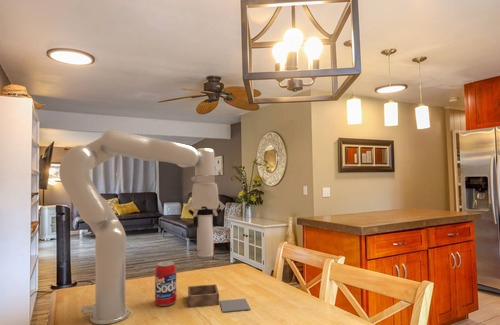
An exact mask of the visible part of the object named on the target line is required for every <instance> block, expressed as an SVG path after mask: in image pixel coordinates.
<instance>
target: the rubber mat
mask: <svg viewBox="0 0 500 325" xmlns="http://www.w3.org/2000/svg"><path fill="white" fill-rule="evenodd" d="M219 305H220V309H221V312H222V313H223V314H225V313H235V312H238V313H239V312H245V311H247V312H248V311H251V306H250V305H249V303H248V301H247V300H246V298H238V299H237V298H236V299H227V300H226V299H223V300H219Z"/></svg>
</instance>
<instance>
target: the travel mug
mask: <svg viewBox="0 0 500 325" xmlns="http://www.w3.org/2000/svg"><path fill="white" fill-rule="evenodd" d="M201 208H202V209H203V210H198V212H197V214H196V215H197V227H196V259H198V260H204V261H205V260H211V259H213V258H214V226H213V214H214V213H213V210H210V209H207V207H201ZM204 208H205V209H204Z"/></svg>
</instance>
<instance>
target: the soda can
mask: <svg viewBox="0 0 500 325" xmlns="http://www.w3.org/2000/svg"><path fill="white" fill-rule="evenodd" d="M176 302H177V266H176V265H175V262H174V261H170V260H167V261H166V260H165V261H161V262H157V263H156V267H155V268H154V303H155V305H157V306H160V307H168V306H171V305H173V304H175V303H176Z"/></svg>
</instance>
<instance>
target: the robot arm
mask: <svg viewBox="0 0 500 325" xmlns="http://www.w3.org/2000/svg"><path fill="white" fill-rule="evenodd" d="M116 156H121V157H125V158H132V159H137V160H141V161H145V162H146V161H148V162H164V163H170V164H175V165H177V166H178V167H180V168H188V167H189V168H190V167H194V170H195V171H194V175H195V176H191V181H192V182H194V183H193V185H192V191H191V200H190V201H189V202H188V203H187V204H185V206H184V209H185V210H186V212H188V213H189V214H190V215H191V216H192V218H193V219H192V222H193V223H192V225H193V226H194V227H195V228H197V212H198V210H203V209H202V208H201V207H207V209H210V210H213V228H214V227H216V225H217V224H218V215H220V213H221V212H222V211H223V210H224V209H225V208H226V205H225V204H224V203H223V202H222V201H220V199H219V190H218V189H219V188H218V183H215V180H216V179H215V177H216V176H215V175H216V174H215V166H216V165H215V151H214V149H213V148H208V147H201V148H197V149H196V148H195V147H193V146H191V145H187V144H183V143H180V142H179V143H178V142H174V141H170V140H163V139H160V138H154V137H148V136H144V135H139V134H135V133H131V132H126V131H122V130H119V129H118V130H117V129H109V130H106V131H105V132H104V133H103V134H101V137H99V138H97V139H95V140H93V141H91V142H90V143H88V144H85V145H76V146H73V147H71V148H70V149H68V151H67V152H66V153H65V154H64V156H63V157H62V160H61V162H60V164H59V170H58V172H59V179H60V182H61V185H62V187H63V189H64V190H65V191H66V192H65V193H66V194H67V195H68V197H69V199H70V201H71V203H72V204H73V206H74V208H75V209H76V211H77V212H78V215H79V216H80V218H81V220H82V221H83V222H84V223H85V224H87V225H88V226H89V228H90V230H91V231H92V233H93V234H94V236H95V239H94V240H95V243H94V245H95V246H94V250H95V251H94V252H95V286H94V288H95V293H94V294H95V297H94V298H95V299H94V300H95V303H93V304H92V305H82V307H81V313H83V315H87V314H91V315H90V316H89V320H90V321H89V322H91V323H92V324H96V325H108V324H109V325H110V324H115V323H118V322H122V321H124V320H125V319H127V318H128V317H129V316H130V314H131V309H130V308H129V307H127V306H126V252H127V234H126V232H125V228H124V227H123V225H122V223H121V221H120V220H119V218H118V216H117V215H116V213H115V211H114V210H113V209H112V206H111V205H110V204H109V202H108V201H107V200H106V198H104V197H103V196H102V195H101V194H100V192H99V191H98V188H97V187H96V185H95V183H94V182H93V180H92V178H91V176H90V174H89V172H90V170H92V169H94V168H95V167H96V168H97V166H99V165H101V164H103V163H105V162H107V161H109V160H110V159H112V158H114V157H116ZM219 206H220V207H219ZM190 207H191V208H190ZM192 209H193V210H192ZM204 209H205V208H204ZM216 209H217V210H216Z"/></svg>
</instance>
